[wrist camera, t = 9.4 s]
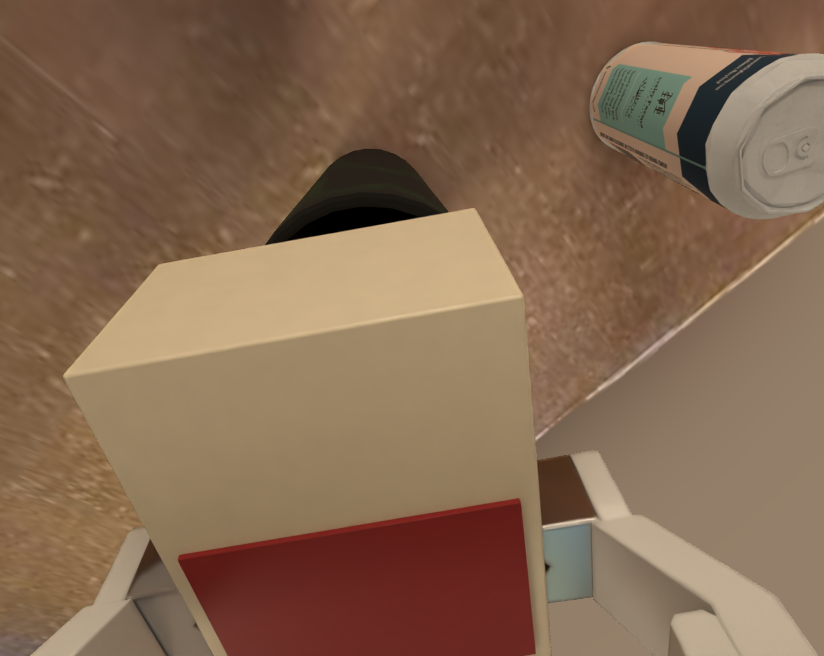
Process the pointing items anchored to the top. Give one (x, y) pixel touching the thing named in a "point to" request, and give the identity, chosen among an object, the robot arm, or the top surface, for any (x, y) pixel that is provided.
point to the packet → (334, 442)
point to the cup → (359, 197)
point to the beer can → (719, 122)
